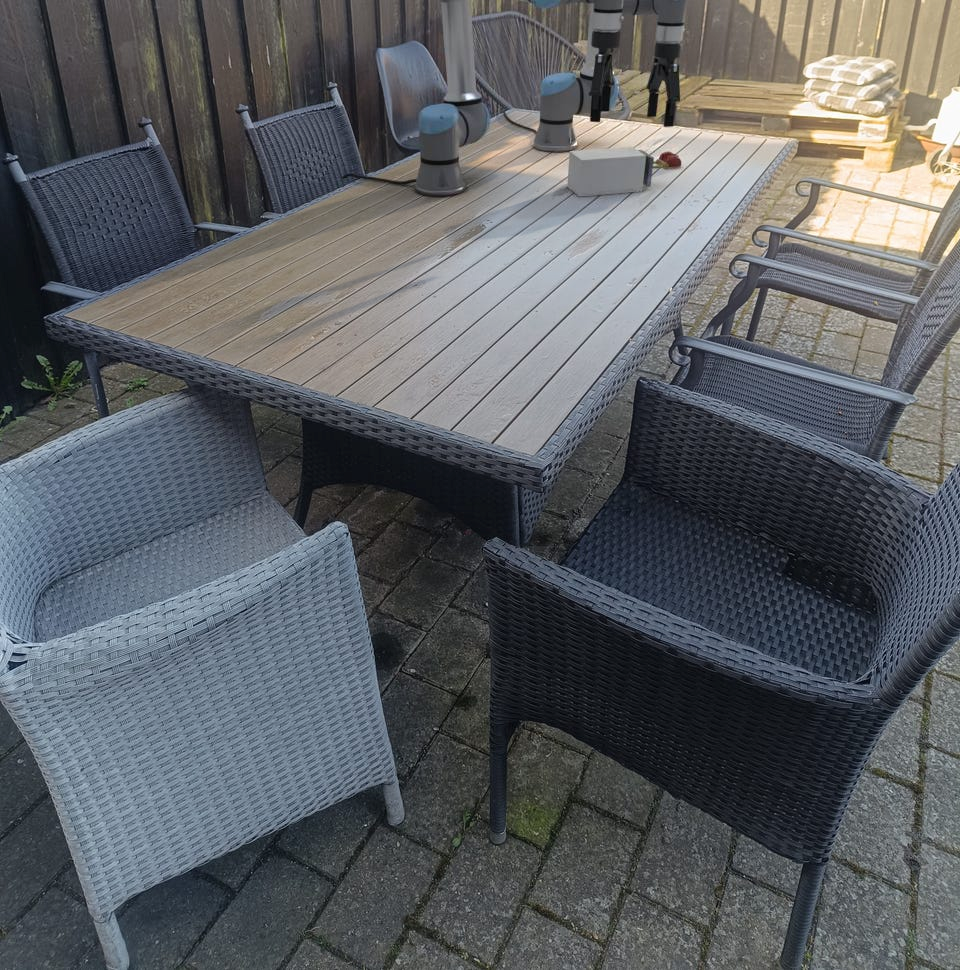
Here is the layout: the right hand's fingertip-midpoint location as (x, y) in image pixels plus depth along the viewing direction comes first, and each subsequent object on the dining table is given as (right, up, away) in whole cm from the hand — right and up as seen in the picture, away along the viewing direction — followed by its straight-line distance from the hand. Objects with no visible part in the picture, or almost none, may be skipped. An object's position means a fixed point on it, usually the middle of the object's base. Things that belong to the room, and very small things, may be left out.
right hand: (659, 121), depth 252 cm
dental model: (+9, -2, +29) cm, 30 cm away
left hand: (-20, -6, -18) cm, 28 cm away
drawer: (-9, -16, +8) cm, 20 cm away
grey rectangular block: (-15, -18, +7) cm, 25 cm away
